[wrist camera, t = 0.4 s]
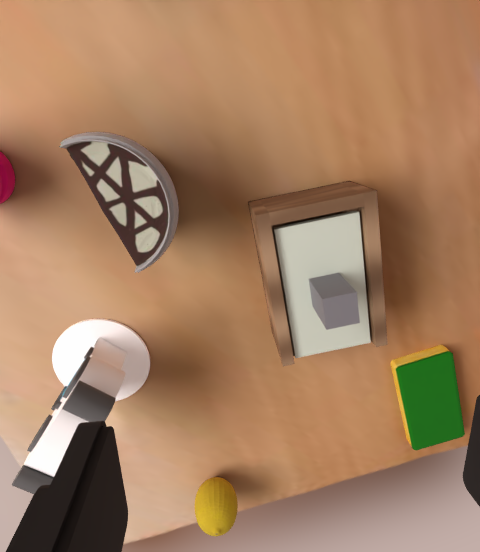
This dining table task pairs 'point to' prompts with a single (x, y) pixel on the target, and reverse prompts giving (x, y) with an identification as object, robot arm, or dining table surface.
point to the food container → (129, 191)
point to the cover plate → (316, 261)
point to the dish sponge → (428, 397)
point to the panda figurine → (84, 389)
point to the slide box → (309, 208)
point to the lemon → (216, 506)
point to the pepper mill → (6, 178)
